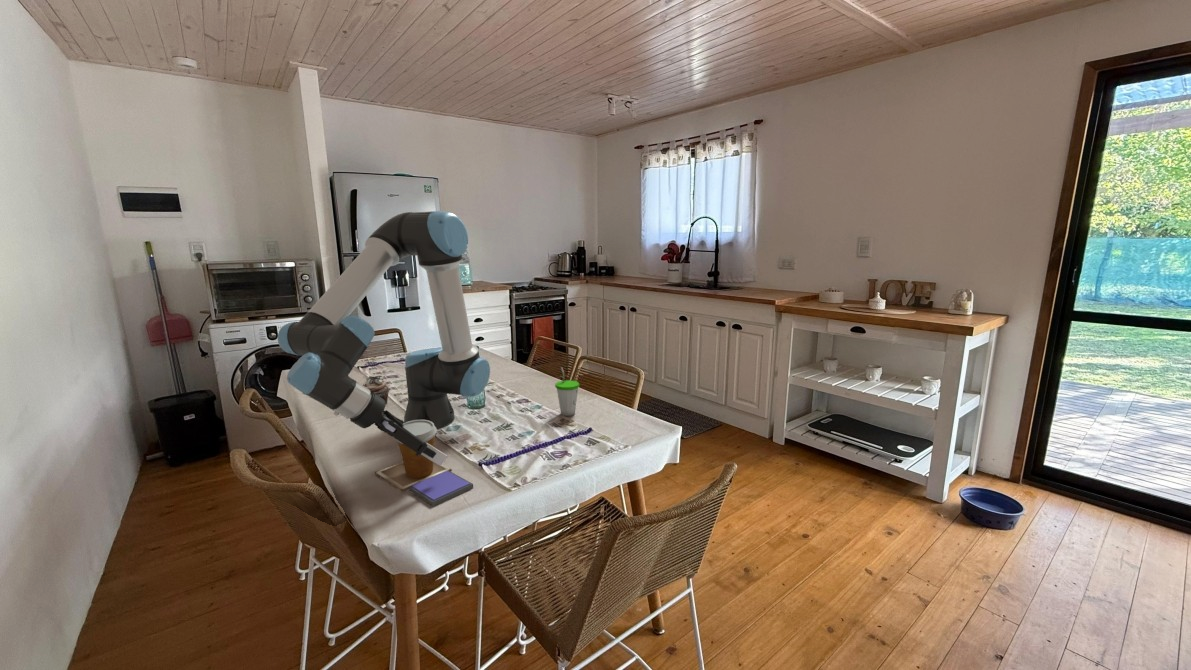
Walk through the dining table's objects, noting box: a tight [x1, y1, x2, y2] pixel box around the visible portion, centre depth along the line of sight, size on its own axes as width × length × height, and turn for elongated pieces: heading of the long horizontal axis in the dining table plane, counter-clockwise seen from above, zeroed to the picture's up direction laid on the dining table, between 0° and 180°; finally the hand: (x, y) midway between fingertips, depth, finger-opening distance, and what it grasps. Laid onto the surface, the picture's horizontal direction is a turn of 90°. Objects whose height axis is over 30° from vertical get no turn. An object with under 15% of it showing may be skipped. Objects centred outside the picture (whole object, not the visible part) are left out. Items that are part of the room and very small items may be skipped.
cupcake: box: [362, 375, 390, 406], centre depth 170 cm, size 10×10×10 cm
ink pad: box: [408, 471, 474, 507], centre depth 113 cm, size 10×10×1 cm
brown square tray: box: [374, 461, 453, 493], centre depth 121 cm, size 13×13×1 cm
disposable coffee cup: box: [395, 420, 438, 479], centre depth 118 cm, size 10×10×12 cm
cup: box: [554, 366, 580, 417], centre depth 159 cm, size 8×8×15 cm
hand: (434, 451), depth 120 cm, fingers open, 11 cm apart
